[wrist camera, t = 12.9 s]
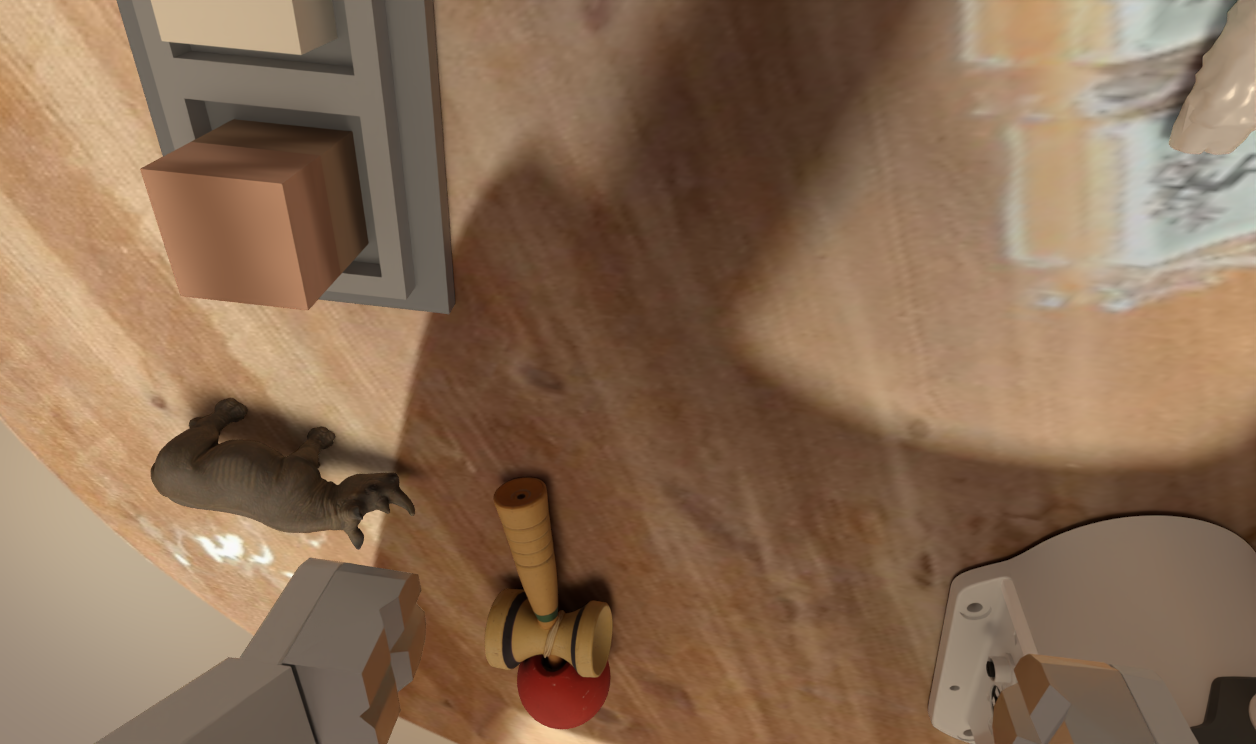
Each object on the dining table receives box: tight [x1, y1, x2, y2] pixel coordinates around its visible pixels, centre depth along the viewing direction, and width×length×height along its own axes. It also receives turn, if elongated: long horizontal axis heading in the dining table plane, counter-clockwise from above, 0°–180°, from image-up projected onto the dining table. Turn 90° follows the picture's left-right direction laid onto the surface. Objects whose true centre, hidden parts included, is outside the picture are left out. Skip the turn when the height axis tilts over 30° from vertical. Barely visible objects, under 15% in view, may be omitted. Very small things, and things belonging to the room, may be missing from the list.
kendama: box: [485, 477, 613, 729], centre depth 45 cm, size 8×6×18 cm
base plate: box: [117, 0, 455, 314], centre depth 28 cm, size 20×12×4 cm, turn 176°
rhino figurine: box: [151, 398, 415, 550], centre depth 39 cm, size 4×14×6 cm, turn 73°
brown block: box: [140, 119, 369, 310], centre depth 29 cm, size 5×5×6 cm
